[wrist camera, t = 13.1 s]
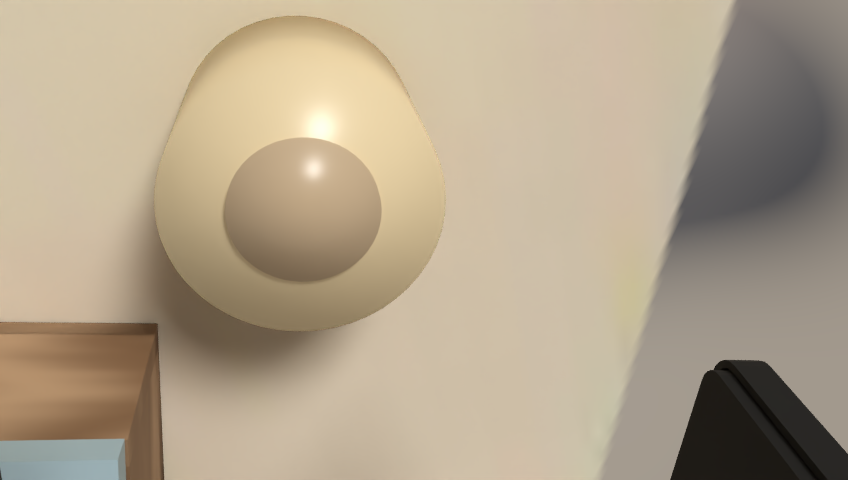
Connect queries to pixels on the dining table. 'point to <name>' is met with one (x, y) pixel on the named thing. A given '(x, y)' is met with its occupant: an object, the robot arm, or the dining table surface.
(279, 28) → the cream bottle with knob
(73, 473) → the lid
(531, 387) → the dining table surface
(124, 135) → the dining table surface
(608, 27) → the dining table surface
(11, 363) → the crate
